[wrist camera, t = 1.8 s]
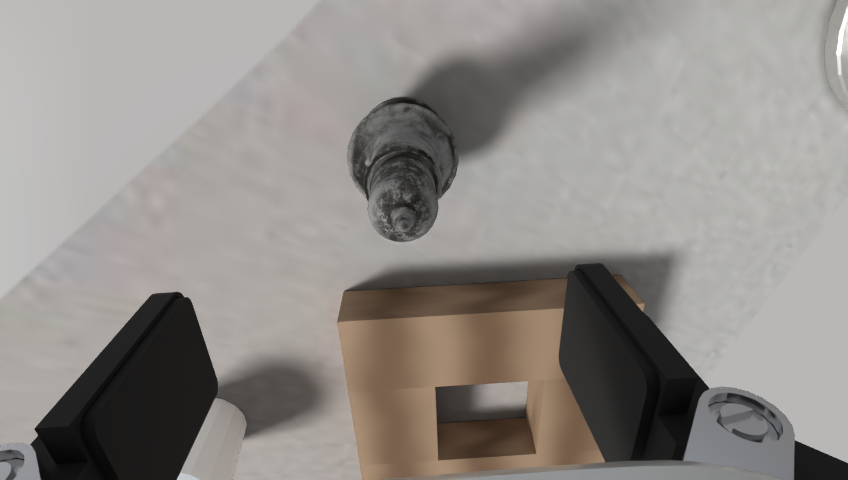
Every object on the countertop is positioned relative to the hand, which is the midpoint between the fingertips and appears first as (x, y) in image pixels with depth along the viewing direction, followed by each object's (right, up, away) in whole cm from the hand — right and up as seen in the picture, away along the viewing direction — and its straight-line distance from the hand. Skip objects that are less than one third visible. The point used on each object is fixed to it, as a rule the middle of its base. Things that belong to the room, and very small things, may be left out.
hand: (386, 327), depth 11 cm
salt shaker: (0, +8, +16) cm, 18 cm away
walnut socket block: (+6, -10, +25) cm, 27 cm away
